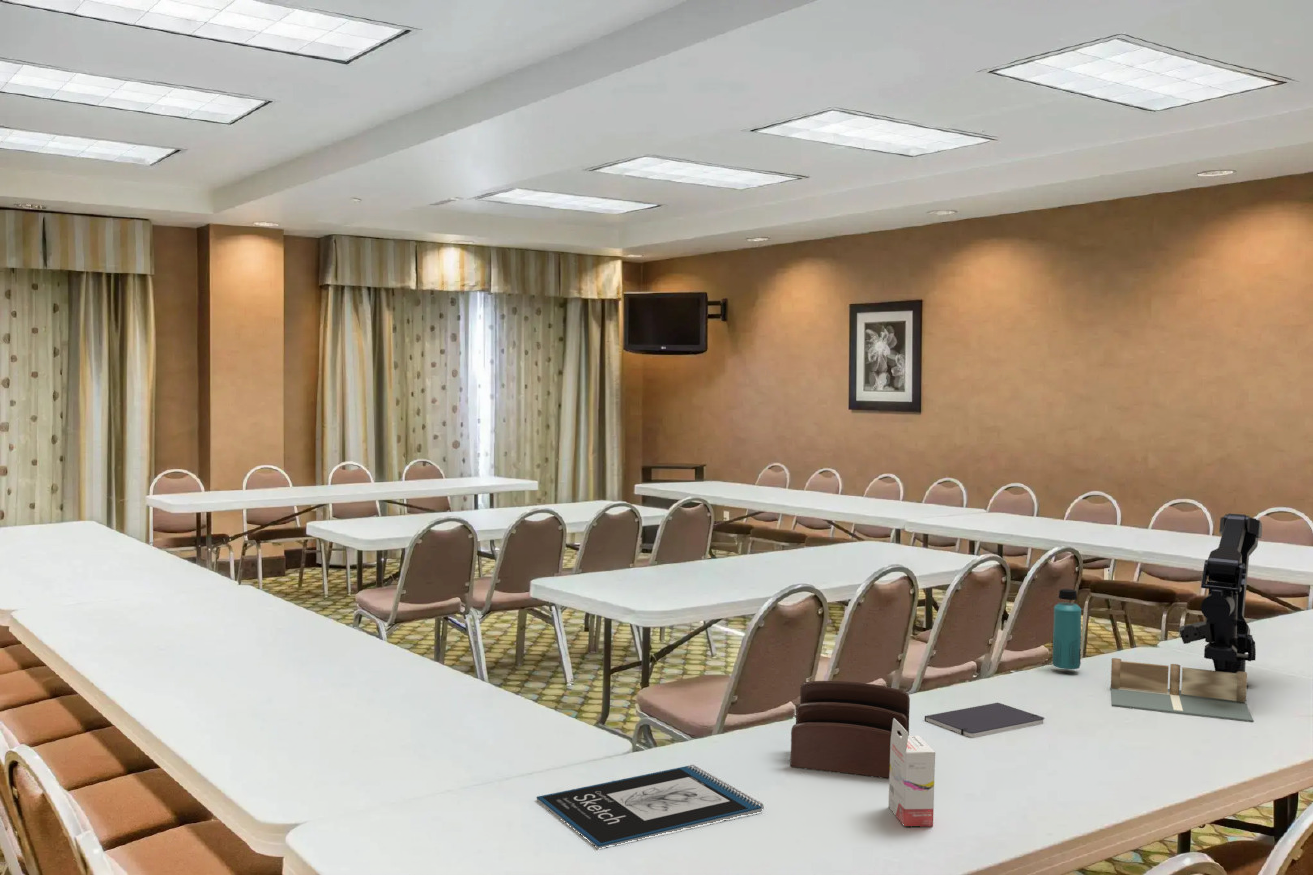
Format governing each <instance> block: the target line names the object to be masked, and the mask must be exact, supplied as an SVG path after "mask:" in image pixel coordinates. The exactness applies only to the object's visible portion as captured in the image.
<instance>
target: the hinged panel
mask: <svg viewBox="0 0 1313 875" xmlns="http://www.w3.org/2000/svg"><path fill="white" fill-rule="evenodd" d="M1247 681H1248V673H1247V672H1246V671H1245V672H1241V671H1238V672H1237V673H1229V672H1220V671H1215V670H1211V669H1201V668H1194V667H1193V668H1192V667H1184V666H1183V667H1182V668H1181V688H1180V690H1181V694H1185V695H1193V696H1201V697H1209V698H1217V699H1226V700H1234V701H1238V702H1245V703H1246V702H1247V690H1248V689H1247V688H1248V687H1247V684H1248V682H1247Z"/></svg>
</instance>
